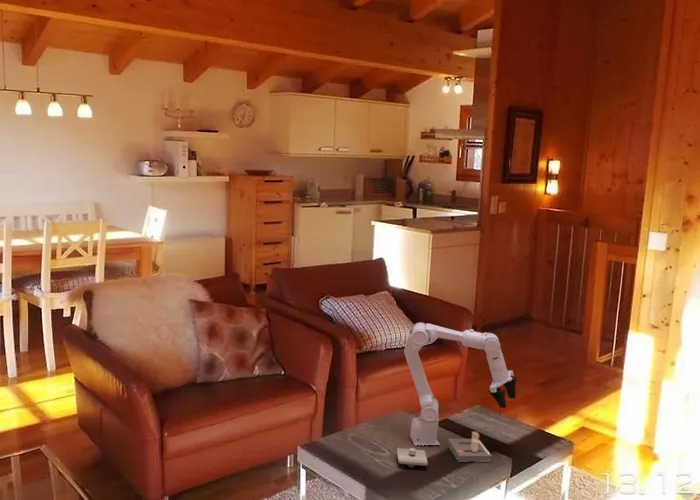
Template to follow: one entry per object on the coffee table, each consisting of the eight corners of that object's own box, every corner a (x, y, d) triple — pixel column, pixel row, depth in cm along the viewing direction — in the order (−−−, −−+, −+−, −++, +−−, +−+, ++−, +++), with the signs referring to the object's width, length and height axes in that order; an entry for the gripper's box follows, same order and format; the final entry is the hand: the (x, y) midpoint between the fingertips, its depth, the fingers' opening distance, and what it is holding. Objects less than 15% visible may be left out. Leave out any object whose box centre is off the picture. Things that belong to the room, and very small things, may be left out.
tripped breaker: (472, 452, 228) (473, 442, 228) (470, 448, 231) (471, 439, 230) (477, 452, 229) (478, 442, 228) (474, 448, 231) (476, 439, 231)
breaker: (473, 444, 235) (474, 435, 234) (471, 440, 237) (472, 431, 237) (478, 444, 235) (479, 435, 234) (475, 440, 237) (476, 431, 237)
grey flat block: (458, 462, 226) (459, 455, 225) (447, 445, 238) (447, 438, 238) (491, 462, 228) (492, 455, 227) (478, 445, 240) (478, 438, 240)
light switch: (423, 457, 228) (425, 443, 227) (427, 471, 218) (428, 457, 217) (395, 455, 227) (397, 441, 227) (398, 469, 218) (399, 454, 217)
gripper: (498, 375, 224) (508, 411, 225) (516, 358, 235) (526, 393, 236) (480, 375, 229) (491, 411, 230) (499, 359, 239) (509, 393, 241)
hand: (508, 402), depth 233 cm, fingers open, 7 cm apart
